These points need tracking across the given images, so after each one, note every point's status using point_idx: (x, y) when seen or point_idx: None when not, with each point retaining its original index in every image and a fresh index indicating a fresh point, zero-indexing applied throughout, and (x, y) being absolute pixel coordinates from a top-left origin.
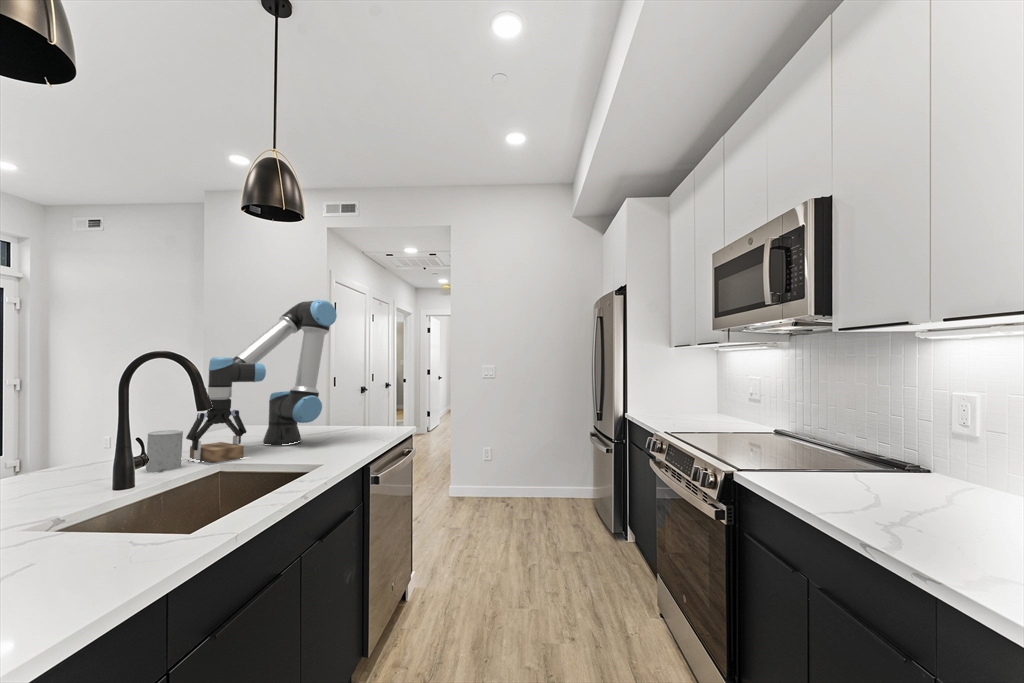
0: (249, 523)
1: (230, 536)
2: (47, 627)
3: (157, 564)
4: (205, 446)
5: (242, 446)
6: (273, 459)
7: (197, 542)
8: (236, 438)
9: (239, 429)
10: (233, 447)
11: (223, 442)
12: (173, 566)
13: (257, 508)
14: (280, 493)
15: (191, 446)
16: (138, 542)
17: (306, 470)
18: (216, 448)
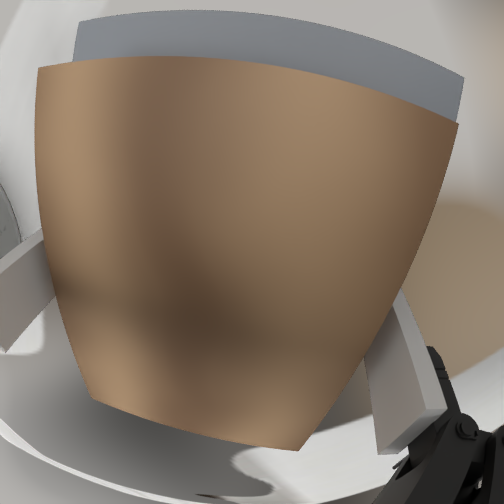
0: (74, 474)
1: (60, 468)
2: (5, 437)
3: (27, 449)
4: (102, 244)
5: (288, 447)
6: (332, 448)
7: (43, 457)
8: (380, 428)
9: (482, 480)
10: (222, 438)
11: (433, 193)
12: (34, 455)
13: (88, 476)
14: (125, 487)
15: (36, 95)
16: (14, 433)
17: (239, 500)
18: (127, 387)
